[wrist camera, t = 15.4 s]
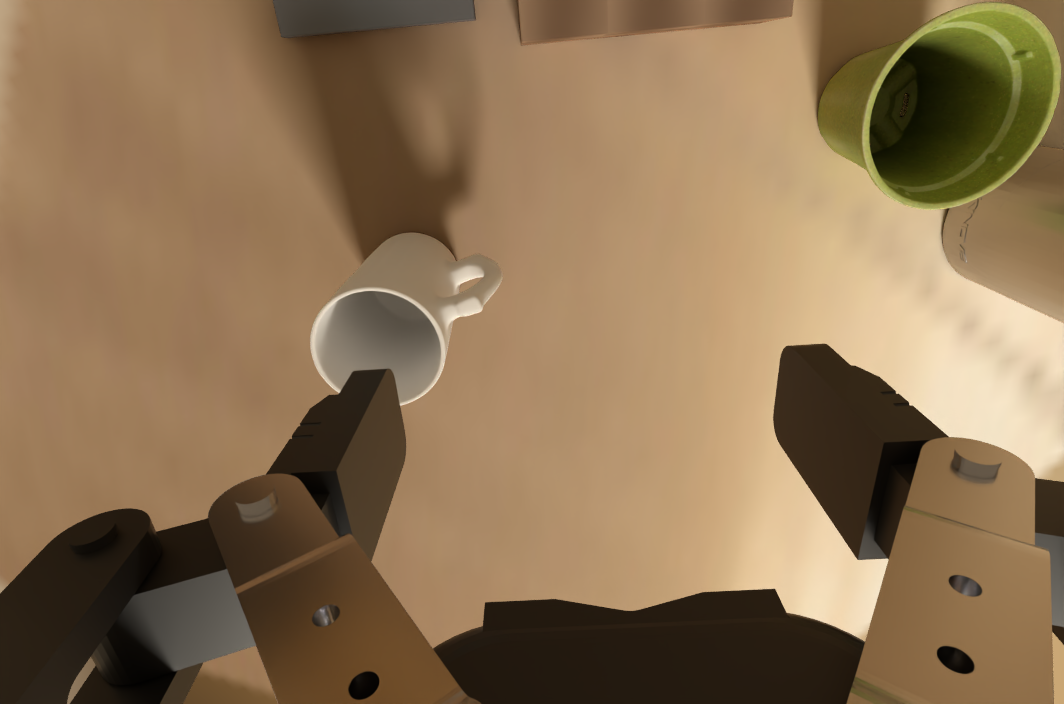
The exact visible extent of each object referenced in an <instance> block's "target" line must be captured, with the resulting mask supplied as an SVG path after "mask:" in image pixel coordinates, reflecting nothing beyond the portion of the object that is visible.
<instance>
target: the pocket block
mask: <svg viewBox="0 0 1064 704" xmlns="http://www.w3.org/2000/svg"><path fill="white" fill-rule="evenodd" d="M792 10H793V0H518V12H519V24H520V37H521V45H531V44H542V43H552V42H563V41H574V40H584V39H595V38H606V37H617V36H627V35H638V34H649V33H659V32H670V31H681V30H692V29H702V28H713V27H724V26H734V25H745V24H756V23H763V22H767V21H772V20H777V19H782V18H787V17H791V16H792Z"/></svg>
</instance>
